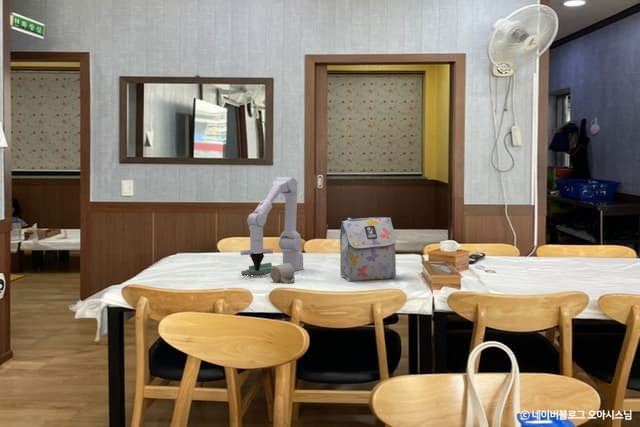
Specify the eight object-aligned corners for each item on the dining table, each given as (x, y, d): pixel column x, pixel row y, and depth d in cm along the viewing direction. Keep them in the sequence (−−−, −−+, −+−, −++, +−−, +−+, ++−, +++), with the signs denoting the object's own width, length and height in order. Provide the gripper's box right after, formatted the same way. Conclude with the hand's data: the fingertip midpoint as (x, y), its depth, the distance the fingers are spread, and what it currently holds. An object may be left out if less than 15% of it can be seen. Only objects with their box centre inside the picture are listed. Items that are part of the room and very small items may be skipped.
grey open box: (270, 270, 331) (270, 266, 331) (278, 272, 327) (278, 268, 327) (241, 274, 320) (241, 271, 320) (249, 276, 315) (249, 272, 315)
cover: (271, 266, 331) (270, 261, 331) (278, 267, 328) (278, 262, 328) (245, 271, 318) (245, 265, 318) (253, 272, 315) (253, 266, 315)
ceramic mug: (268, 281, 302) (268, 263, 301) (283, 279, 307) (283, 261, 307) (284, 285, 294) (284, 266, 293) (299, 282, 299) (299, 264, 299)
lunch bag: (348, 283, 297) (348, 220, 295) (337, 276, 313) (336, 217, 311) (398, 280, 303) (398, 218, 301) (384, 274, 319) (384, 215, 317)
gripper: (269, 238, 320) (269, 268, 321) (238, 240, 314) (238, 270, 315) (274, 239, 313) (274, 270, 314) (242, 241, 308) (243, 272, 309)
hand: (257, 270), depth 314 cm, fingers closed
